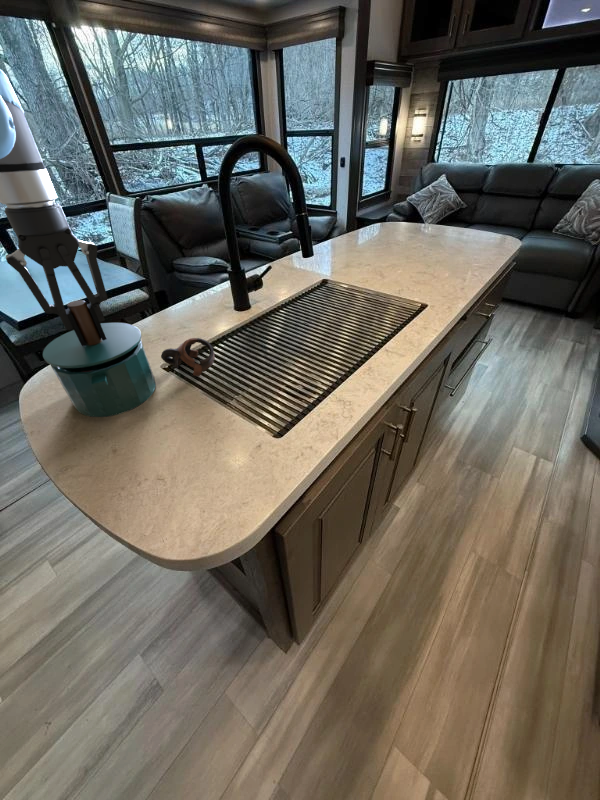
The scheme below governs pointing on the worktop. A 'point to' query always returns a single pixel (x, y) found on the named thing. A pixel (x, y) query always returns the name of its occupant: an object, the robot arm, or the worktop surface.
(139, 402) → the pot
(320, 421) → the worktop surface
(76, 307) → the lid
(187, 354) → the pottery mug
